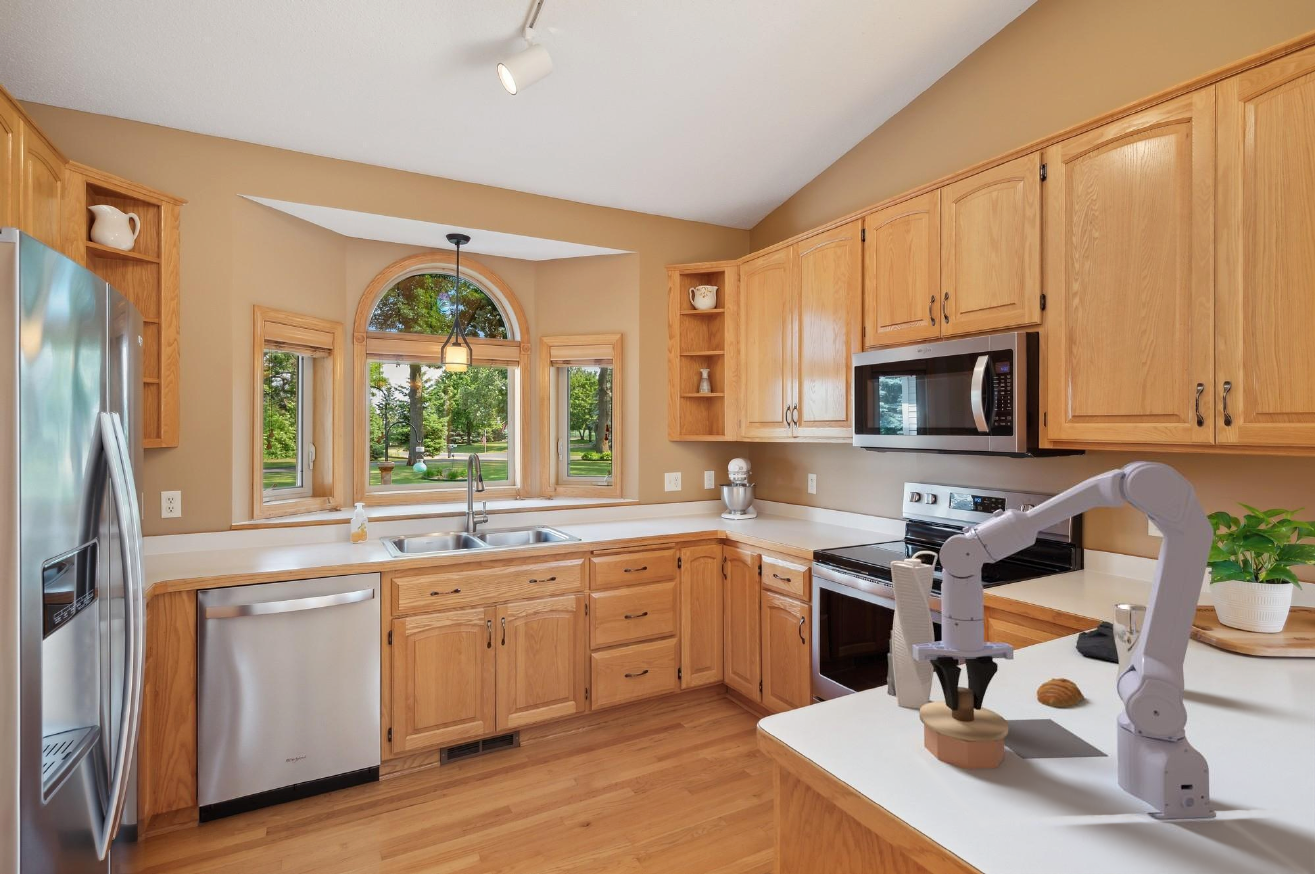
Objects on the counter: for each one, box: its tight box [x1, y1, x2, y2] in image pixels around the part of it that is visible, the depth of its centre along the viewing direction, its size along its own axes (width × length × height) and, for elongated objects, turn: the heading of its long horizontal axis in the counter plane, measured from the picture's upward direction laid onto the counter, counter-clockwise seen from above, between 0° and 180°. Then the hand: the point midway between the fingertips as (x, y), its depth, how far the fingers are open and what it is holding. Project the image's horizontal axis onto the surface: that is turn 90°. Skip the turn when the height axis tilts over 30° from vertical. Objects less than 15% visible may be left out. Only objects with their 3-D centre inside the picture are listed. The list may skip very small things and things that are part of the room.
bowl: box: [923, 724, 1005, 770], centre depth 97 cm, size 10×10×4 cm
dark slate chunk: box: [1075, 620, 1119, 664], centre depth 148 cm, size 15×22×5 cm
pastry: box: [1036, 677, 1085, 709], centre depth 117 cm, size 9×7×4 cm
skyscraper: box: [886, 550, 939, 710], centre depth 116 cm, size 8×8×28 cm
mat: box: [1004, 718, 1109, 760], centre depth 101 cm, size 13×13×1 cm
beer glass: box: [1112, 602, 1147, 682], centre depth 126 cm, size 7×7×15 cm
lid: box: [919, 686, 1008, 742], centre depth 97 cm, size 12×12×5 cm
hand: (963, 707), depth 97 cm, fingers closed on lid, 3 cm apart
